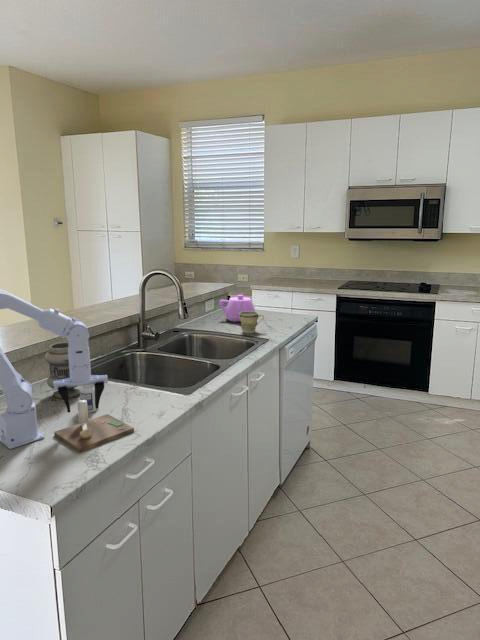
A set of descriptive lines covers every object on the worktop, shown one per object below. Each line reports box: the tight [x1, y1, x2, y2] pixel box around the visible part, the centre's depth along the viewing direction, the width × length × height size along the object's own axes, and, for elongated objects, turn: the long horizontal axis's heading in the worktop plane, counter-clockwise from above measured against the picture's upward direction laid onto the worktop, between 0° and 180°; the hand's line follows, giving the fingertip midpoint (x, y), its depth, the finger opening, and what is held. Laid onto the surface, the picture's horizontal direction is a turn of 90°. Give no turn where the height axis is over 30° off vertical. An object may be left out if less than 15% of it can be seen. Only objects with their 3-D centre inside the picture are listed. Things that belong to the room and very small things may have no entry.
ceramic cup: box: [239, 311, 265, 334], centre depth 254 cm, size 13×10×10 cm
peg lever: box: [77, 400, 92, 439], centre depth 135 cm, size 11×3×7 cm, turn 22°
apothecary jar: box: [44, 341, 80, 401], centre depth 164 cm, size 12×12×18 cm
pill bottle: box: [79, 384, 100, 414], centre depth 153 cm, size 5×5×10 cm
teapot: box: [218, 294, 256, 323], centre depth 278 cm, size 23×21×15 cm
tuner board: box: [53, 413, 135, 453], centre depth 137 cm, size 17×14×1 cm
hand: (83, 409), depth 138 cm, fingers open, 7 cm apart
